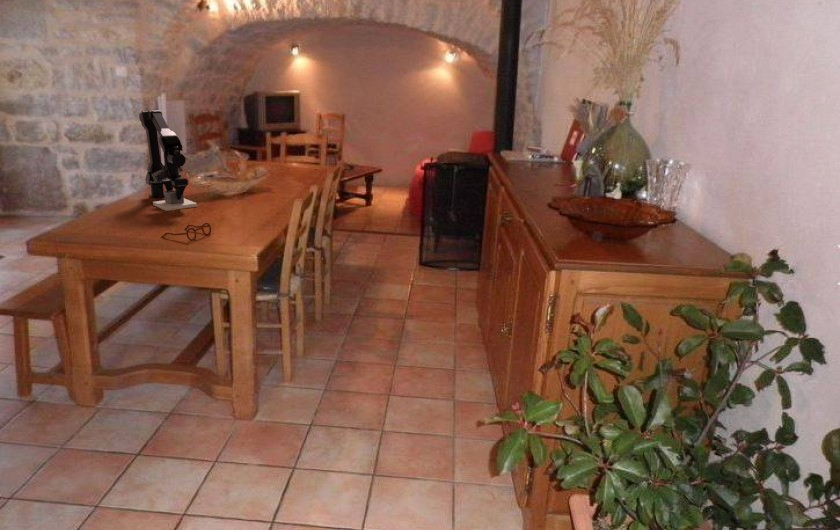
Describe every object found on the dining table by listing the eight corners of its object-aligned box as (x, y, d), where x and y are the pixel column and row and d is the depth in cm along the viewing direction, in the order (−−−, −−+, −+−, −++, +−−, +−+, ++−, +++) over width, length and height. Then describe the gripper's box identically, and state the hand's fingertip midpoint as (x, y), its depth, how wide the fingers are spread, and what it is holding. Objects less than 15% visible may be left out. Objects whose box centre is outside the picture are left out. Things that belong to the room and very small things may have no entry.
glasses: (189, 242, 233) (188, 229, 231) (160, 238, 237) (159, 225, 236) (212, 234, 245) (211, 221, 243) (184, 230, 249) (183, 217, 247)
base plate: (153, 205, 285) (151, 192, 283) (183, 201, 294) (182, 189, 293) (166, 210, 276) (165, 198, 274) (197, 206, 285) (196, 194, 283)
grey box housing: (165, 202, 285) (164, 190, 283) (178, 200, 289) (177, 189, 287) (171, 204, 281) (169, 193, 279) (184, 202, 285) (183, 191, 283)
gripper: (144, 162, 280) (147, 196, 285) (162, 168, 267) (165, 204, 272) (169, 159, 287) (172, 193, 292) (187, 165, 275) (190, 201, 280)
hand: (174, 198), depth 284 cm, fingers open, 9 cm apart
